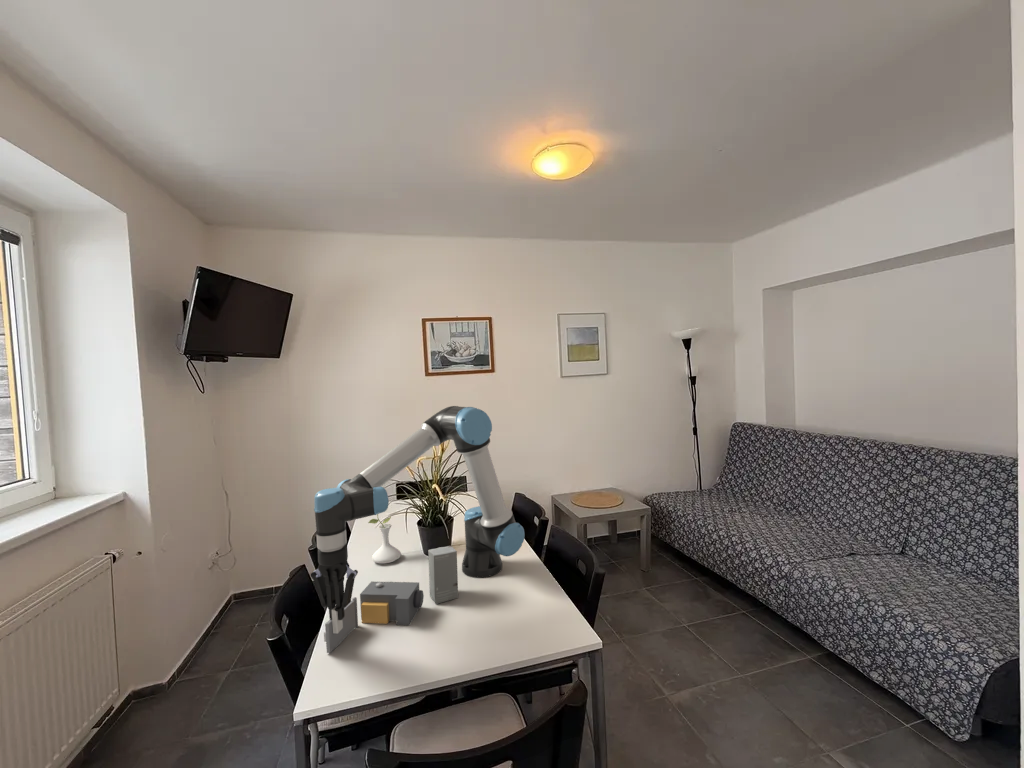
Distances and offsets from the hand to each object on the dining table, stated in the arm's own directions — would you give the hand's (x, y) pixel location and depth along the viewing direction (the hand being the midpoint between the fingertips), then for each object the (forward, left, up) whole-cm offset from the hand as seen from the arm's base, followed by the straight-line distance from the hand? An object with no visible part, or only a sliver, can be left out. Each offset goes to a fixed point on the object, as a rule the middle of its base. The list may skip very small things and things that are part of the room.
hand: (338, 630), depth 121 cm
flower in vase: (+10, -55, -5) cm, 56 cm away
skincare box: (-22, -28, -5) cm, 36 cm away
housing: (-8, -16, -5) cm, 18 cm away
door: (+1, -3, -5) cm, 6 cm away
